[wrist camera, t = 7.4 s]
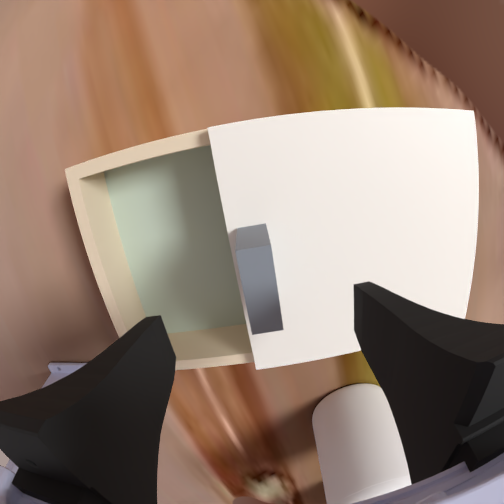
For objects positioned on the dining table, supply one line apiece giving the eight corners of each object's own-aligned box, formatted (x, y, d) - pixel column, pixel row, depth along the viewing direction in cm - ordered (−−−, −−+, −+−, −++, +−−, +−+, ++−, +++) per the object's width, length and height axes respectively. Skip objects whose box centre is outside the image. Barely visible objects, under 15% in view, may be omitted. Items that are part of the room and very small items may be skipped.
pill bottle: (311, 387, 25) (346, 541, 11) (393, 373, 25) (457, 502, 11) (307, 436, 28) (329, 560, 14) (377, 423, 28) (418, 534, 14)
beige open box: (149, 339, 23) (135, 372, 19) (95, 162, 18) (64, 169, 14) (339, 312, 22) (355, 343, 19) (321, 116, 17) (340, 110, 14)
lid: (256, 364, 19) (258, 407, 15) (208, 128, 14) (196, 123, 10) (461, 316, 18) (488, 344, 14) (468, 111, 13) (510, 110, 10)
